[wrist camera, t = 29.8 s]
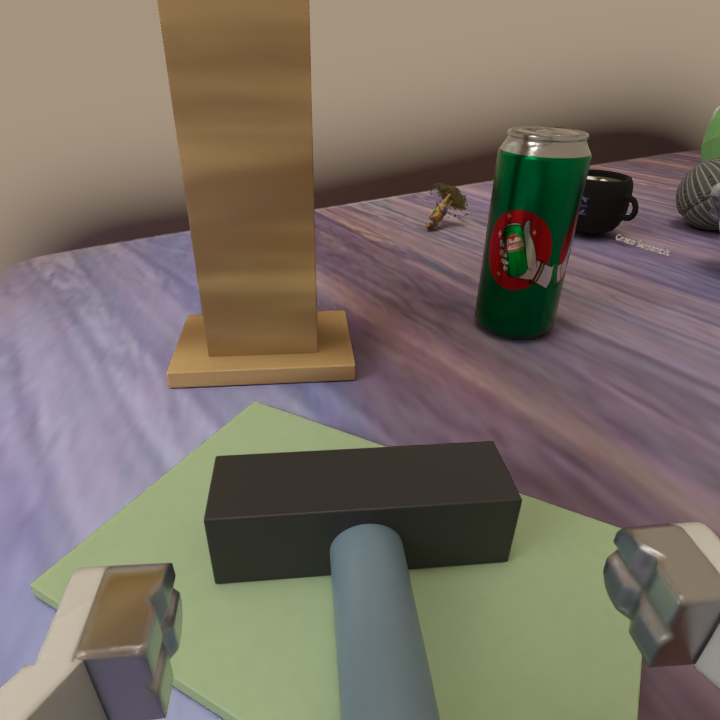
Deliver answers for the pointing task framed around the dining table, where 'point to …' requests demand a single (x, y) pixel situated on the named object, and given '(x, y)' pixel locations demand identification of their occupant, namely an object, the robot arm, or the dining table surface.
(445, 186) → the soldier figurine
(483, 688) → the mat
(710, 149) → the balloon
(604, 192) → the mug
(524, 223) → the soda can
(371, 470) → the hammer
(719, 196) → the rock
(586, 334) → the dining table surface
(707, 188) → the lollipop
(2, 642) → the dining table surface
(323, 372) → the stand
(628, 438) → the dining table surface
